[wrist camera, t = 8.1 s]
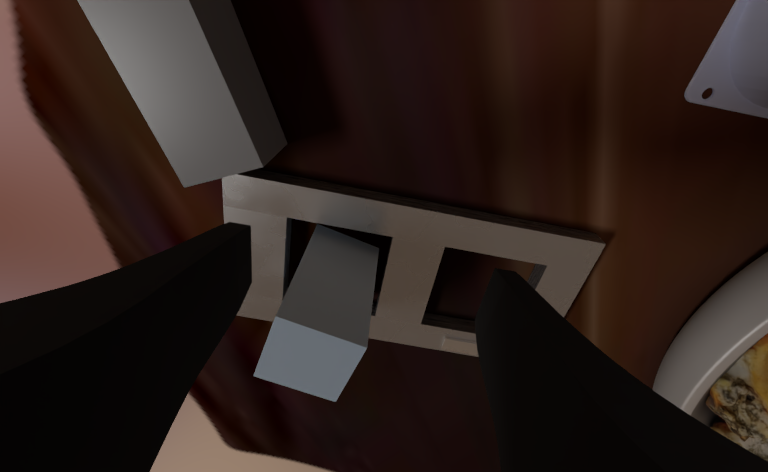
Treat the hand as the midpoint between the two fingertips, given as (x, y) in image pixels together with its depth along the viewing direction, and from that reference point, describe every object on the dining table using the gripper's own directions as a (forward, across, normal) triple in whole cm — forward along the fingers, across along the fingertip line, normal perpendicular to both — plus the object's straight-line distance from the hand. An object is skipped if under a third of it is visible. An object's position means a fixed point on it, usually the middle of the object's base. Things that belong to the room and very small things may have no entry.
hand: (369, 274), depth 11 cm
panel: (+10, -2, +7) cm, 12 cm away
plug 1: (+10, +9, -3) cm, 14 cm away
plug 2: (+10, +2, +7) cm, 12 cm away
